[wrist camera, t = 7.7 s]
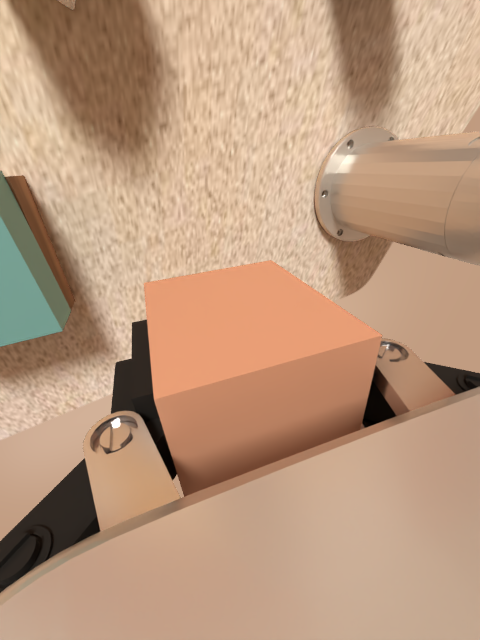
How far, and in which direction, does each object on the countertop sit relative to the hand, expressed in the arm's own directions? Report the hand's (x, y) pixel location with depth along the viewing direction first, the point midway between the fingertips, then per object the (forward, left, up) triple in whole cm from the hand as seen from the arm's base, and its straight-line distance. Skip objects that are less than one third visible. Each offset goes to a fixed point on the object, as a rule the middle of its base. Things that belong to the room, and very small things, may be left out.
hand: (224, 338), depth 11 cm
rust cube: (0, 0, -1) cm, 1 cm away
